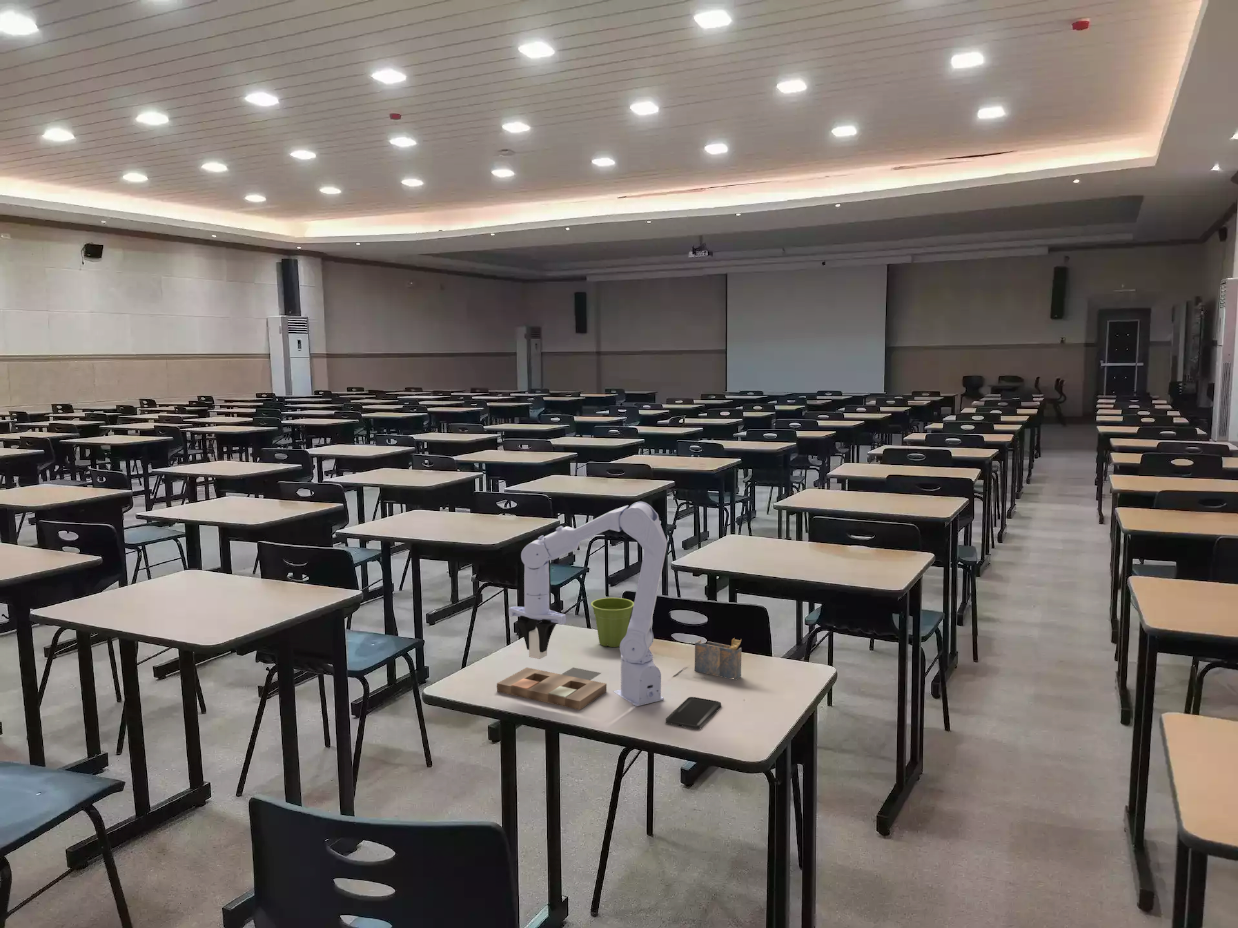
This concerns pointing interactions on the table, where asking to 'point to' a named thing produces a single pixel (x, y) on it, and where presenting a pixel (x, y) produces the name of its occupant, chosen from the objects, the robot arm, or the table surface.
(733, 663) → the weathered storage box
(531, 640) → the plug
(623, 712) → the table surface
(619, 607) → the plant pot
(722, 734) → the table surface
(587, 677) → the grey square plate
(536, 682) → the socket block
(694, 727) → the phone
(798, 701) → the table surface
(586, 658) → the table surface
